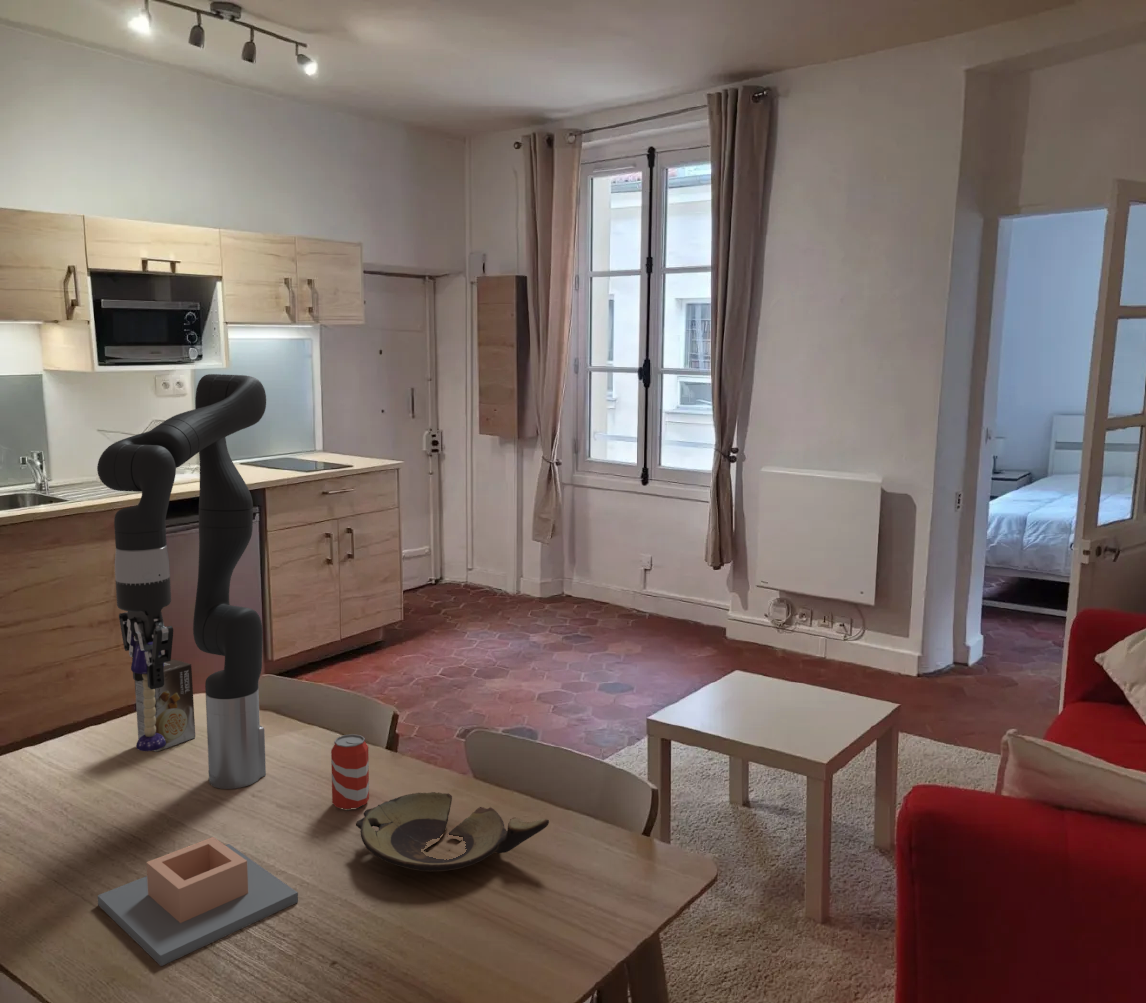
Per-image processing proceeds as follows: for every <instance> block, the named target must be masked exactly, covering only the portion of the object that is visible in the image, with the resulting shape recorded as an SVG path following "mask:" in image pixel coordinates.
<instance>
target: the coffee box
mask: <svg viewBox="0 0 1146 1003" xmlns="http://www.w3.org/2000/svg"><path fill="white" fill-rule="evenodd" d="M163 669H164V686H163V687H160V688H156V689H155V696H154V697H155V700H156V703H155V709H156V714H155V717H156V723H155V726H156V733H159V734H161V735H162V736H163V737H164V738H165V741H166V745H165V746H164V747H162V748H160V749H157V750H153V752H156V753H158V752H160V751H162V750H165V749H169V748H171V747H174V746H176V745H179V744H181V743H184V742H187V741H191V740H192V739H195V738H196V722H195V720H196V719H195V708H194V707H195V705H194V703H195V702H194V690H193V689H194V687H193V685H194V684H193V671H192V664H191V663H188V662H186V661H185V662H184V661H182V660H177V659H172V658H171V661H169V662H165V663H164V668H163ZM134 691H135V692H134V694H135V705H136V706H135V709H136V710H135V711H136V721H137V722H136V723H137V741H138V740H139V738H140V737H141V736H143V735H145V733H144V728H145V725H144V718H145V716H144V708H145V707H144V704H143V702H144V696H143V691H144V687H143V680H142V681H135V680H134Z"/></svg>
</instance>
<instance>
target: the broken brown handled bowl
mask: <svg viewBox="0 0 1146 1003" xmlns="http://www.w3.org/2000/svg"><path fill="white" fill-rule="evenodd" d="M452 800H453V796H452V795H451V794H450V793H444V792H443V793H442V792H433V791H431V792H415V793H410V794H404V795H402V796H399V797H396V798H392V799H390V800H388V801H384V802H383V803H381V804H378V805H377V806H375V807H371V808H367V809H365V810H364V812H363V818H360V819H359V820H357V821H356V822H355V826H356V827H357V828H358V829H360V837H361V841H362V843H363V844H364V846H365V848H366V850H368V851H369V852H370V853H371V854H372V855H373V856H374V855H375V857H377V858H379V859H381V860H382V861H384V862H387V863H388V864H392V865H394V866H398V867H401V868H402V867H403V868H405V869H409V870H415V871H421V872H444V871H445V872H446V871H452V870H453V871H454V870H458V869H459V870H460V869H462V868H467V867H470V866H472V865H475V864H477V863H479V862H481V861H483V860H485V859H486V858H488V857H490V856H491V855H493V854H494V853H497V854H503V853H504V854H505V853H508V852H510V851H512V850H513V849H514V848H516V847H518V846H519V845H520V844H522V843H523V842H526V841H527V840H528V839H530V838H532V837H533V836H535V835H536V834H538V833H540V832H542V831H543V830H545V828H547V827H548V825H549V824H550V821H549V819H548V818H541V819H538V820H533V821H525V820H523V819H521V818H520V817H519V818H518V817H517V816H513V817H512V818H510V819H509V821H508V824H507V830H506V828H505V824H504V821H503V818H502V817H501V815H500V814H499V813H498V812H497V810H496V809H495V808H492V807H491V806H490V807H488V808H485V807H483V806H479V807H478V808H477V809H476V810H475V811H474V812H473V811H472V813H471V814H470V815H469V816H468V817H466V818H465V819H464V820H463V821H462V822H460V823H459V824H458V825H456V826H455V827H454V828H452V829H451V830H449V833H448V834H449V835H453V836H459V837H463V841H465V842H466V843H465V844H466V846H465V847H466V848H465V849H467V850H466V852H465V853H464V854H462V855H460V856H458V857H456V858H453V859H449V860H447V859H446V860H444V859H436V858H433V857H429V856H426V855H425V854H424V853H423V852H421V849H424V848H425V846H427V845H426V844H427V843H426V842H428V841H430V840H432V839H437V838H440V836H441V835H442V834H443V833H444V834H445V832H446V830H445V829H447V824H448V821H449V815H450V813H451V812H450V811H451V805H452ZM373 827H377V828H378V830H375V828H373ZM444 831H445V832H444Z"/></svg>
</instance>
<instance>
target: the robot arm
mask: <svg viewBox="0 0 1146 1003" xmlns="http://www.w3.org/2000/svg"><path fill="white" fill-rule="evenodd" d="M263 385H264V384H263V383H262V382H261V381H260V380H259V379H257V378H256V377H254V376H250V375H243V374H241V375H240V374H224V373H223V374H221V373H220V374H219V373H218V374H217V373H209V374H204V375H203V376H201V377H200V379H199V381H198V383H197V386H196V389H195V397H194V398H195V402H194V403H195V404H194V405H195V406H194V408H195V409H190V410H187V411H184V412H181V413H178V414H176V415H173V416H171V417H169V418H168V419H166V420H164V421H163V422H161V423H160V424H158V425H156V426H155V427H153V428H152V429H150V430H149V431H146V432H142V433H138V434H135V435H132V436H129V437H126V438H122V439H120V440H118V441H116V442H114V443H112V444H110V445H109V446H108V447H107V448H105V449H104V451H103V452H102V453H101V455H100V456H99V459H98V462H97V466H96V467H97V468H96V470H97V475H98V476H97V477H98V478H99V479H100V482H101V483H102V484H103V485H104V486H105V487H107V488H109V489H111V490H113V491H118V492H137V493H138V492H139V493H141V498H140V500H139V502H138V504H137V505H133V506H129V507H128V506H127V507H125V508H121V509H119V510H117V511H116V513H115V515H114V518H113V521H114V522H113V523H114V524H113V526H114V540H115V544H114V545H115V553H114V554H115V556H114V557H115V558H114V575H115V576H114V577H115V594H116V606H117V608H118V609H120V610H121V611H125V612H122V613H119V614H118V619H119V625H120V631H121V638H122V642H123V649H124V651H126V652H128V655H129V657H130V658H131V661H133V657H134V653H135V649H136V646H137V645H138V644H140V649H141V651H143V652H144V653H145V658H146V663H147V680H148V687H149V688H150V689H156V688H160V687H163V686H164V669H163V663H165V662H169V661H171V660H172V651H173V640H174V628H173V626H172V625H168V626H165V621H164V618H163V613H162V609H164V608H165V607H167V606H169V605H170V604H171V602H172V590H171V588H172V587H171V571H170V570H171V569H170V557H169V553H168V547H167V546H168V545H167V544H168V543H167V528H166V527H167V525H166V520H167V513H168V509H169V504H170V500H171V495H172V491H173V487H174V484H175V480H176V474H177V473H176V472H177V469H178V468H179V467H182V465H184V464H185V463H186V462H188V461H189V460H191V459H192V458H193V457H194V456H196V455H197V454H199V455H198V458H199V459H198V460H199V496H198V498H199V499H198V540H199V541H198V542H199V543H198V545H199V547H198V567H197V568H198V573H197V585H196V593H195V594H196V596H195V603H194V612H193V620H192V622H193V623H192V633H193V634H192V635H193V639H194V643H195V645H196V647H197V648H198V649H199V650H200V651H201V652H204V653H205V654H209V655H216V656H222V657H224V665H223V666H224V668H223V669H222V670H218V671H215V672H213V673H211V674H209V676H208V677H206V679H205V685H204V687H205V688H204V689H205V690H204V691H205V711H206V715H205V716H206V733H207V736H206V738H207V757H208V758H207V760H208V761H207V764H208V773H207V774H208V782H209V784H210V785H211V786H212V787H214V788H217V789H225V790H231V789H239V788H244V787H247V786H250V785H252V784H254V783H256V782H258V781H259V780H260V778H263V777H265V776H266V775H267V773H266V772H267V771H266V768H267V766H266V743H265V742H266V741H265V740H266V738H265V736H266V735H265V727H264V726H262V725H261V724H260V698H259V695H260V692H259V691H260V690H259V680H260V676H261V674H262V668H263V667H262V666H263V642H264V640H263V638H264V636H263V624H262V620H261V617H260V614H259V613H258V612H257V611H256V610H255V609H253V608H250V607H246V606H245V607H243V606H237V605H231V604H230V587H231V581H232V580H231V578H232V576H233V572H234V570H235V568H236V566H237V564H238V563H239V561H240V560H241V557H243V554H244V552H245V551H246V549H247V547H248V545H249V544H250V540H251V538H252V535H253V526H254V524H253V521H254V520H253V519H254V518H253V517H254V511H253V510H254V509H253V508H254V502H253V498H252V494H251V492H250V489H249V487H248V485H247V484H246V482H245V480H244V478H243V477H242V475H241V473H240V472H239V470H238V469H237V467H236V465H235V464H234V461H233V460H232V458H231V455H230V454H229V450H228V446H227V438H226V437H229V436H230V435H233V434H234V433H235V434H236V433H237V432H239V431H241V430H244V429H247V428H249V427H252V426H254V425H256V424H257V423H259V422H260V421H261V419H262V418H263V416H264V414H265V411H266V408H267V394H266V390H265V387H264V386H263ZM149 642H153V644H152V645H148V644H146V643H149ZM151 650H152V655H151ZM132 679H133V680H134V682H135V681H142V680H144V679H143V677H142V674H137V673H134V672H132Z"/></svg>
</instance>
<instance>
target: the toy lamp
mask: <svg viewBox="0 0 1146 1003" xmlns="http://www.w3.org/2000/svg"><path fill="white" fill-rule="evenodd" d="M146 644H148V645H152V644H153V642H149V643H146ZM151 655H152V650H151ZM132 658H133V661H132V660H131V661H132V662H131V665H130V671H132V673H133V672H134V673H137V674H142V677H143V679H144V680H143V687H144V691H143V696H144V702H143V704H144V707H145V708H144V716H145V718H144V725H145V728H144V733H145V735H143V736H141V737H140V738H139V740H138V739H137V742H136V745H135V746H136V748H135V749H137V750H138V751H140V752H151V751H153V750H157V749H160V748H162V747H164V746H165V745H166V741H165V738H164V737H163V736H162V735H161V734H159V733H156V726H155V723H156V717H155V714H156V709H155V703H156V700H155V697H154V696H155V689H150V688H149V687H148V680H147V663H146V658H145V653H144V652H143V651H141V649H140V644H138V645H137V646H136V649H135V653H134V657H132ZM163 668H164V663H163ZM153 752H154V751H153Z"/></svg>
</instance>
